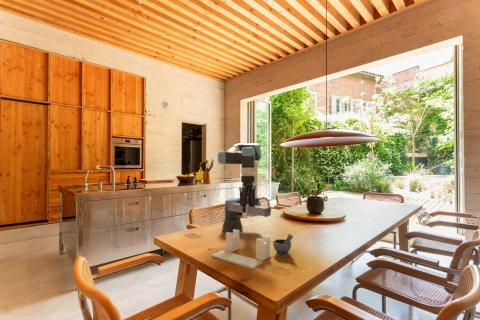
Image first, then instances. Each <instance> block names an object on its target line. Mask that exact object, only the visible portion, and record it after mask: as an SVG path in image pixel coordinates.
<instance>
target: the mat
mask: <svg viewBox="0 0 480 320" xmlns="http://www.w3.org/2000/svg"><path fill="white" fill-rule="evenodd" d="M211 258H215V259H218V260H222V261H224V262H228V263H230V264H234V265H238V266H241V267H244V268H247V269H250V270H254V269H256V268H258V267H259V265H262V264H263V261H261V260H257V259H256V258H252V257H248V256H244V255H241V254H237V253H235V252H229V251H226V250H223V249H222V250H219V251H217V252H215V253H212V254H211Z"/></svg>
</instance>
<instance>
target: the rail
mask: <svg viewBox="0 0 480 320" xmlns="http://www.w3.org/2000/svg"><path fill="white" fill-rule="evenodd" d="M226 211H234V212H240V213H243V212H242V206H240V203H233V202H229V203H226ZM271 212H272V209H271V206H255V205H248V204H247V214H253V215H259V216H261V217H264V218H268V217H270V216H272V215H271V214H272V213H271ZM259 216H258V217H259Z"/></svg>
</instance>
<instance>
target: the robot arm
mask: <svg viewBox="0 0 480 320" xmlns="http://www.w3.org/2000/svg"><path fill="white" fill-rule="evenodd" d="M261 150H262V149H261V145H260V143H255V142H254V143H253V142H252V143H251V142H250V143H245V142H244V143H235V144H232V145H231V146H229V147H228V148H227V150H225V151H218V152H217V162H218V164H219V165H241V166H240V167H241V168H240V174H241V176H240V182H241V183H242V186H241V187H239V188H238V190H239V197H233V198H227V199H226V200H225V201H224V220H223V223H222V227H221V228H222V232H224V233H226V232H230V233H233V229H235V230H240V232H242V231H243V228H244V227H243V224H242V220H241V217H242V219H248V217H250V218H253V217H259V215H253V214H247V204H248V205H255V206H261V204H262V200H260V197H259V196H258V163H260V160H261V159H262V151H261ZM229 202H233V203H240V206H242V212H243V213H240V212H234V211H226V203H229Z"/></svg>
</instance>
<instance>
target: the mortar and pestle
mask: <svg viewBox="0 0 480 320" xmlns="http://www.w3.org/2000/svg"><path fill="white" fill-rule="evenodd" d="M293 238H294V235H292V234H290V233H289V234H287V238H285V239H281V238H278V239H274V240H273V242H272V245H273V249H274V250H275V251H276V255H277V256H278V257H283V258H285V257H288V255H289V252H290V250H291V248H292V242H291V241H292V239H293Z"/></svg>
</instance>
